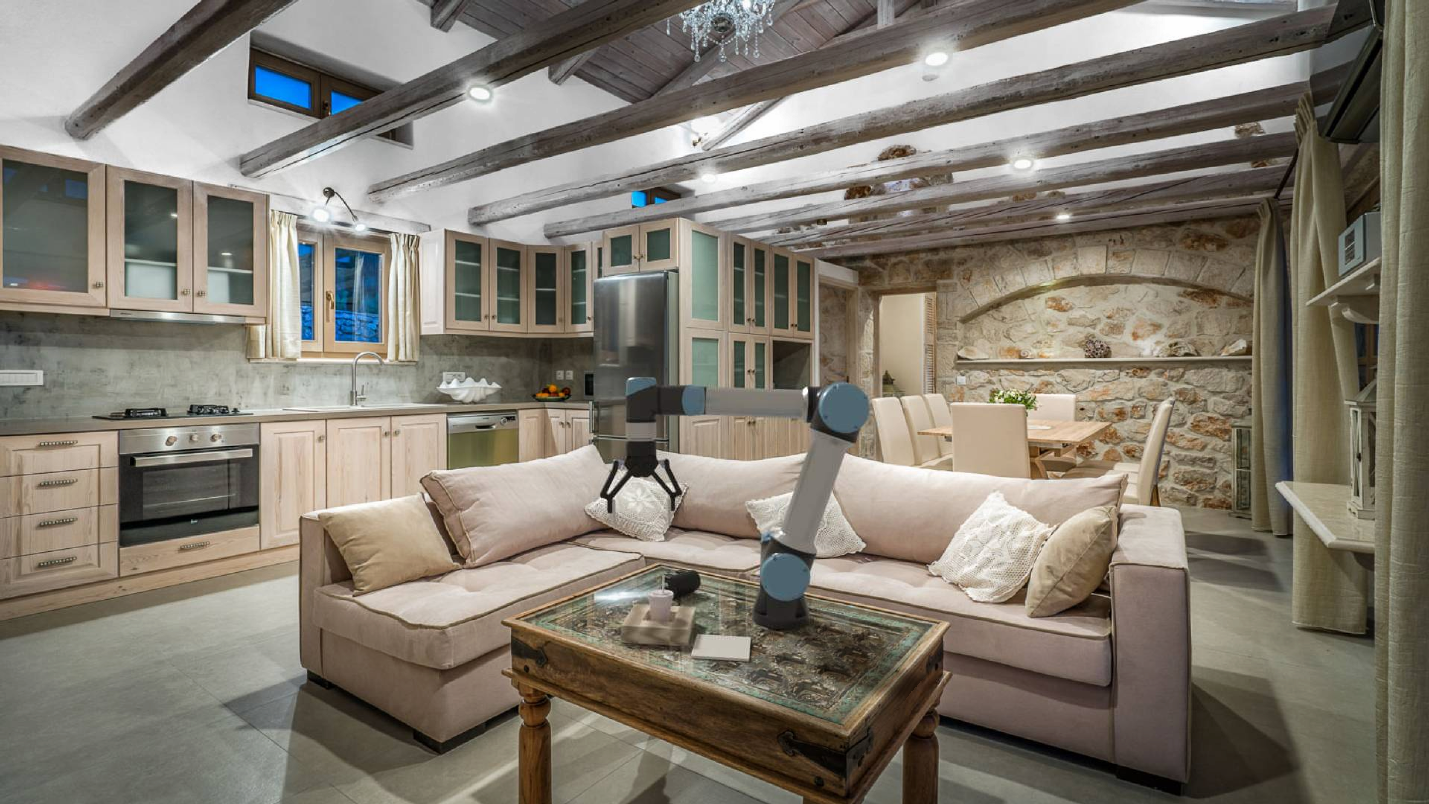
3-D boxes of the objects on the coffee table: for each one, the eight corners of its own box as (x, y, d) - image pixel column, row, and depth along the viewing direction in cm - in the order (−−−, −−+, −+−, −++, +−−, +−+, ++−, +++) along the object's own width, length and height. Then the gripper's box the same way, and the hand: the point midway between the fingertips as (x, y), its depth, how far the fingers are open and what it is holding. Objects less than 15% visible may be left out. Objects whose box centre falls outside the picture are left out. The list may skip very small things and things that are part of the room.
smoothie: (675, 635, 159) (676, 578, 159) (649, 637, 157) (650, 580, 157) (669, 626, 165) (671, 571, 165) (644, 628, 163) (646, 572, 163)
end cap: (677, 602, 185) (677, 578, 185) (659, 596, 190) (660, 573, 190) (700, 594, 193) (701, 571, 192) (683, 589, 197) (683, 567, 197)
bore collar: (695, 622, 169) (695, 607, 169) (687, 646, 153) (688, 629, 153) (634, 619, 170) (634, 603, 170) (620, 642, 154) (620, 625, 154)
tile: (750, 639, 158) (750, 637, 158) (748, 661, 145) (749, 658, 145) (697, 636, 159) (697, 634, 159) (690, 658, 146) (690, 655, 146)
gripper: (688, 437, 168) (688, 520, 168) (589, 439, 163) (590, 524, 163) (693, 439, 160) (693, 526, 160) (590, 441, 155) (590, 530, 155)
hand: (641, 525), depth 162 cm, fingers open, 13 cm apart
